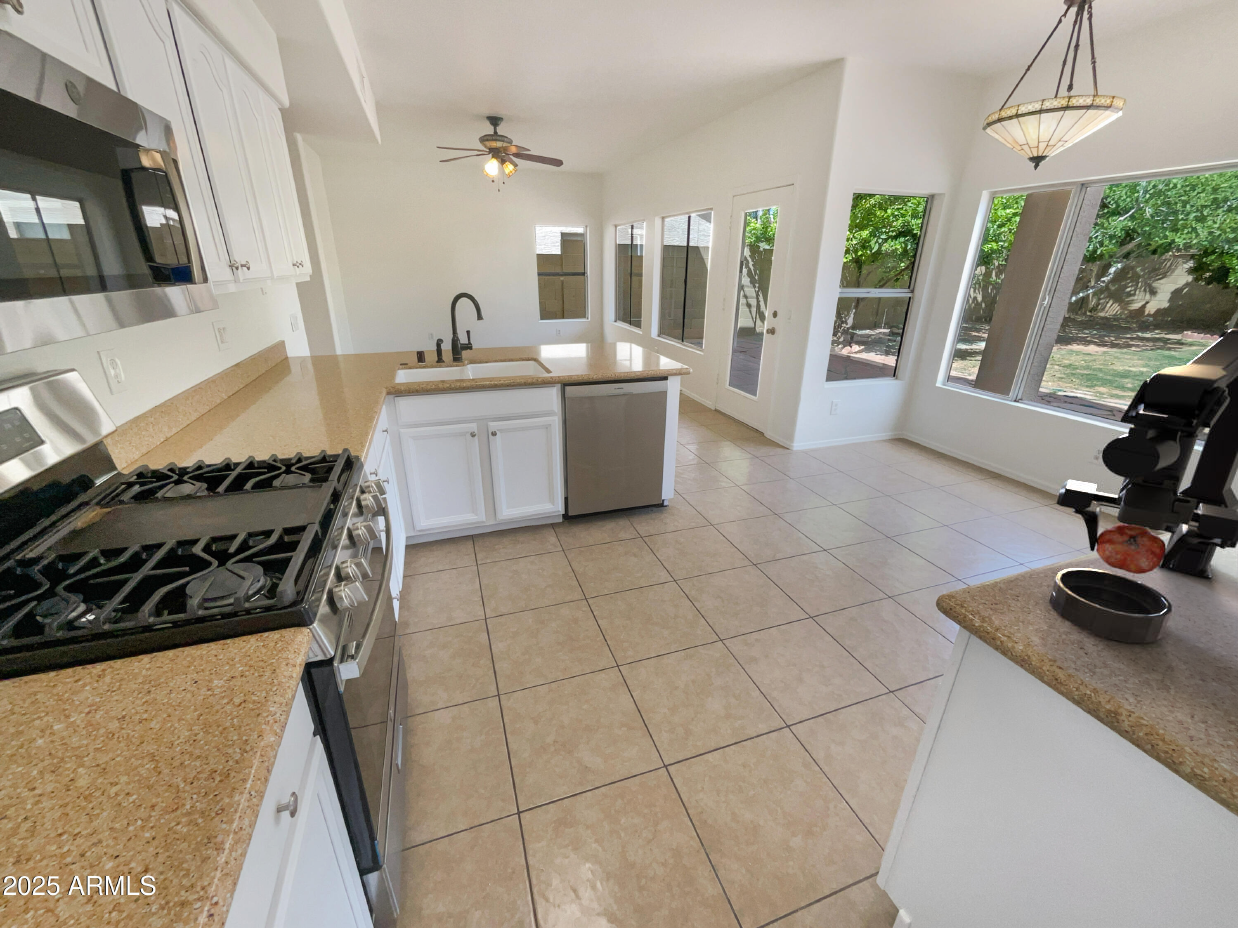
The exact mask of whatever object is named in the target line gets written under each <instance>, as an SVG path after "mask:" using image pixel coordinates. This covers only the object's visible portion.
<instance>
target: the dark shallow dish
mask: <svg viewBox="0 0 1238 928" xmlns="http://www.w3.org/2000/svg"><path fill="white" fill-rule="evenodd" d="M1048 603H1049V604H1050V607H1051V609H1052V610H1053V611H1054V612H1055V613H1056V614H1057V615H1058V616H1059V617H1060V618H1062V619H1064V620H1065V621H1067V622H1068V623H1070V624H1071V625H1073V626H1076V627H1077V628H1080V629H1082V630H1084V631H1085V632H1088V633H1091V634H1094V635H1097V636H1100V637H1103V638H1106V639H1109V640H1115V641H1119V642H1124V643H1133V644H1134V643H1135V644H1146V643H1147V644H1148V643H1153V642H1157V641H1158V640H1159V639H1162V637H1163V636H1164V633H1165V631H1166V629H1167V627H1168V623H1169V620H1170V618H1171V615H1172V613H1173V604H1172V603H1171V602H1170V600H1169V599H1168V598H1167V597H1166V596H1165V595H1164V594H1162V593H1161V592H1160V591H1158V590H1157V589H1155V588H1154V587H1151V586H1149V585H1147V584H1145V583H1143V582H1141V581H1139V580H1136V579H1133V578H1130V577H1127V576H1125V575H1122V574H1117V573H1115V572H1111V571H1106V570H1101V569H1095V568H1082V567H1073V568H1066V569H1063V570H1060V571H1059V572H1057V573H1056V576H1055V579H1054V582H1053V586H1052V589H1051V592H1050V597H1049V599H1048Z"/></svg>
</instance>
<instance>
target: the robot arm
mask: <svg viewBox="0 0 1238 928" xmlns="http://www.w3.org/2000/svg"><path fill="white" fill-rule="evenodd" d="M1141 411H1142V412H1141ZM1119 422H1120V423H1123V424H1131V425H1132V426H1130V427H1129V429H1128V431H1127V434H1124V435H1121V436H1119V437H1116V438H1113V439H1112V440H1110V441H1109V442H1108V443H1107V444H1106V446H1105V447H1104V448H1103V449H1102V453H1101V459H1102V462H1103V464H1104V467H1106V469H1107V470H1108V471H1110V472H1111V473H1112V474H1114V475H1116V476H1119V477H1121V478H1123V479H1122V480H1123V481H1122V483H1121V486H1120V489H1119V492H1118V495H1116V494H1111V493H1105V492H1099V491H1097V487H1098V484H1095V483H1091V482H1084V481H1078V480H1073V479H1068V480H1066V481H1064V482H1063V484H1062V485H1061V488H1060V489H1059V493H1058V496H1057V501H1056V505H1058V506H1060V507H1063V508H1069V509H1072V512H1073V514H1076V515H1080V516H1081V518H1082V519H1083V522H1084V525H1085V528H1086V533H1087V537H1088V544H1089V549H1090V551H1091V552H1095V549H1096V547H1097V538H1098V536H1099V531H1100V530H1099V529H1100V520H1101V512H1102V507H1107V508H1112V509H1117V510H1118V513H1117V517H1116V520H1117V521H1118V522H1119V523H1123V524H1127V525H1137V526H1142V527H1145V528H1147V529H1149V530H1151V531H1155V532H1159V531H1160V532H1166V533H1169V534H1170V535H1169V539H1168V541H1167V543H1166V552H1165V555H1164V556H1163V559H1162V561H1161V563H1160V565H1159V566H1158V567H1159V568H1160V569H1163V570H1164V569H1167V570H1171V571H1175V572H1179V573H1183V574H1187V575H1191V576H1196V577H1200V578H1202V579H1203V578H1204V579H1208V580H1210V579H1211V580H1212V577H1213V572H1212V561H1213V558H1214V555H1215V553H1216V550H1217V548H1219V549H1222V550H1225V549H1236V547H1237V546H1238V498H1237V496H1236V493H1235V492H1234V490H1233V488H1232V485H1233V482H1234V481H1235V480H1234V479H1235V477H1236V474H1237V472H1238V328H1232V329H1226V330H1225V329H1224V330H1223V331H1222V332H1221V334H1220V335H1219V337H1218V339H1217V341H1215V342H1214V343H1213V344H1211V346H1209V347H1208V348H1207V349H1205V350H1204V351H1202V352H1201V353H1200V354H1199V355H1198V356H1196V357H1194V359H1193V360H1191V361H1189V362H1188V363H1187V364H1186V365H1179V366H1171V367H1165V368H1163V369H1162V370H1159V371H1158V372H1156V373H1154V374H1153V375H1151V377H1150V378H1147V379H1144V381H1143V382H1142V384H1141V385H1140V387H1139V388H1138V390H1137V391H1136V393H1135V395H1134V396H1133V398H1132V400H1131V401H1130V403H1129V405H1128V406H1127V408H1126V409H1125V411H1124V413H1123V414H1122V416H1121V418H1120V420H1119ZM1206 429H1208V432H1207V435H1206V438H1205V440H1204V443H1203V445H1202V449H1201V451H1200V455H1199V457H1198V461H1197V463H1196V466H1195V469H1194V472H1193V475H1192V477H1191V480H1190V483H1189V484H1188V485H1187V486H1185V487H1183V488H1182V489H1181V490H1180V488H1181V485H1182V484H1183V480H1184V477H1185V475H1186V473H1187V472H1186V471H1187V470H1188V469H1187V468H1188V466H1189V464H1190V460H1191V458H1192V455H1193V452H1194V449H1195V446H1196V444H1197V441H1198V437H1199V435H1200V434H1202V433H1203V432H1204V431H1205V430H1206Z"/></svg>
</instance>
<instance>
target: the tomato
mask: <svg viewBox="0 0 1238 928" xmlns="http://www.w3.org/2000/svg"><path fill="white" fill-rule="evenodd" d="M1166 547H1167V544H1166V543H1165V541H1164V540H1163V538H1161V537H1160V536H1159V535H1156V534H1154V533H1153V532H1151V531H1150V530H1148V528H1146V527H1142V526H1137V525H1127V524H1123V523H1121V522H1119V523H1118V524H1116V525H1113V526H1111V527H1107V528H1105V529H1103V530H1102V531H1100V533H1098V538H1097V543H1096V548H1095V549H1096V550H1095V551H1096V553H1097V555H1098V556H1099V558H1100V559H1101V560H1102V561H1103V562H1104V563H1105V564H1106V565H1108V566H1109V567H1111V568H1114V569H1118V570H1122V571H1124V572H1127V573H1131V574H1135V575H1142V574H1146V573H1150V572H1152V571H1154V570H1155V569H1157V568H1158V567H1160V566H1159V565H1160V563H1161V561H1162V559H1163V556H1164V555H1165V552H1166Z"/></svg>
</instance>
